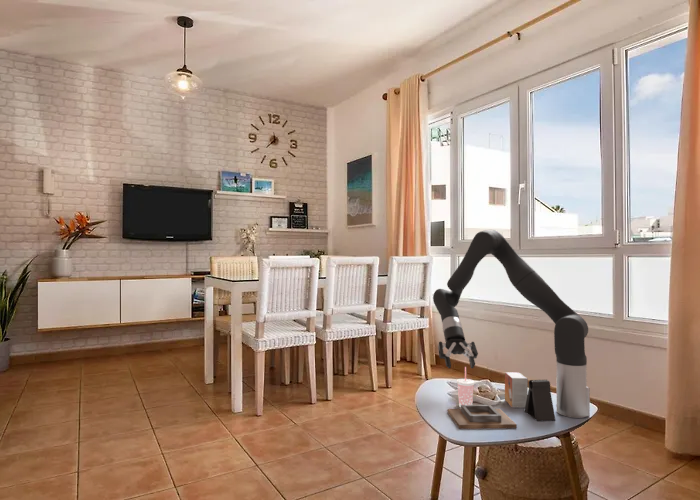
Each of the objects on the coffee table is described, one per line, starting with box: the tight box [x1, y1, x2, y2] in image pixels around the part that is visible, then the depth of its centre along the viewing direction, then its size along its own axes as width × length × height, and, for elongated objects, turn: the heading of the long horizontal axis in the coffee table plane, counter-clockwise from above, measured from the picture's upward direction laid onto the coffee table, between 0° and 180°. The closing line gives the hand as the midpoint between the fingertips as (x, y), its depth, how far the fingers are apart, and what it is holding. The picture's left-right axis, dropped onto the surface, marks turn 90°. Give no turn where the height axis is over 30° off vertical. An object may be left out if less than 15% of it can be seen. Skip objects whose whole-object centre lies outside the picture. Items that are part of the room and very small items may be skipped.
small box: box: [504, 371, 529, 409], centre depth 158 cm, size 8×6×10 cm
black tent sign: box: [524, 379, 556, 422], centre depth 146 cm, size 9×6×12 cm, turn 5°
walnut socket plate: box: [447, 404, 518, 430], centre depth 143 cm, size 18×14×3 cm
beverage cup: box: [456, 366, 475, 408], centre depth 156 cm, size 6×6×14 cm
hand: (461, 367), depth 161 cm, fingers open, 8 cm apart
